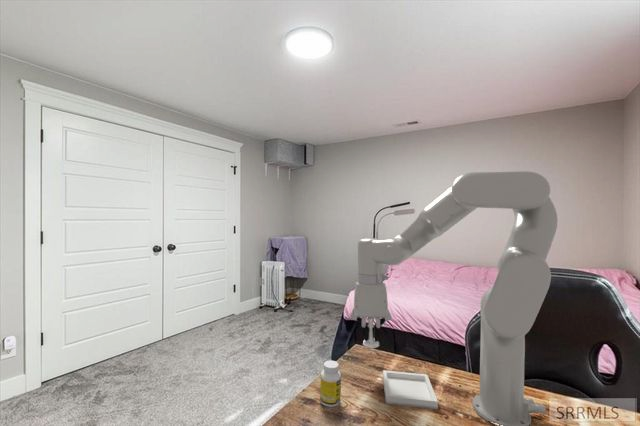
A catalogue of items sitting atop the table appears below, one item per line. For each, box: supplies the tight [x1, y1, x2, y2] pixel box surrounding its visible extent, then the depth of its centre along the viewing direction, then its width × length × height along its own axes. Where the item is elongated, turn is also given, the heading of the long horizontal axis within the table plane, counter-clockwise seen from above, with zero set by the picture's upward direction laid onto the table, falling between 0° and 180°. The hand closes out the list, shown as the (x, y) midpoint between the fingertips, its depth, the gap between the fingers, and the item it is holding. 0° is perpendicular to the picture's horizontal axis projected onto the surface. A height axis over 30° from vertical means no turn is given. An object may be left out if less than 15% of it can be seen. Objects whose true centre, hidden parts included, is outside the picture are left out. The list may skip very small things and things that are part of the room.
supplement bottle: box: [319, 360, 342, 408], centre depth 78 cm, size 5×5×10 cm
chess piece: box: [362, 317, 380, 349], centre depth 90 cm, size 5×5×10 cm
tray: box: [382, 369, 439, 410], centre depth 83 cm, size 13×13×2 cm
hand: (371, 338), depth 90 cm, fingers closed on chess piece
